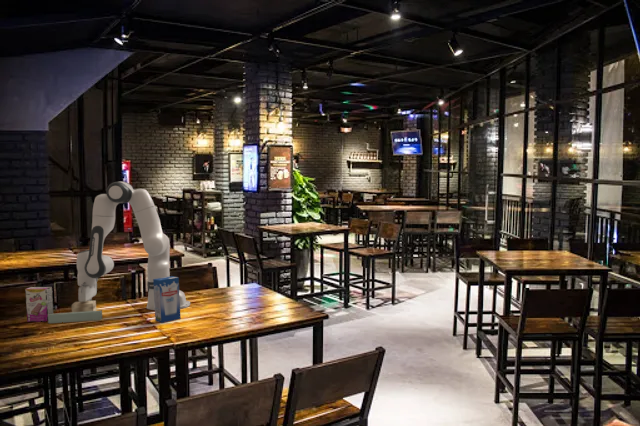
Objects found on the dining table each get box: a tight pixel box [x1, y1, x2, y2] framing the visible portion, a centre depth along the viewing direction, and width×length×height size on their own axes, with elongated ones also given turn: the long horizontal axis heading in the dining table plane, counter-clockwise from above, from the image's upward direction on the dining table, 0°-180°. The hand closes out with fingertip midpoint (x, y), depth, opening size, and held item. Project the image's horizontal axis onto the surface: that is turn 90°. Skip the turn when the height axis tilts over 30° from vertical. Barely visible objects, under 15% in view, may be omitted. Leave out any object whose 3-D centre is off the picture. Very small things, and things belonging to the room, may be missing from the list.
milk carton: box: [153, 275, 182, 324], centre depth 256 cm, size 10×6×20 cm, turn 134°
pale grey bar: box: [47, 310, 103, 324], centre depth 261 cm, size 24×3×4 cm, turn 98°
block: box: [71, 299, 97, 312], centre depth 275 cm, size 10×8×6 cm
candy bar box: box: [24, 286, 54, 323], centre depth 263 cm, size 11×5×16 cm, turn 84°
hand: (88, 307), depth 282 cm, fingers closed
